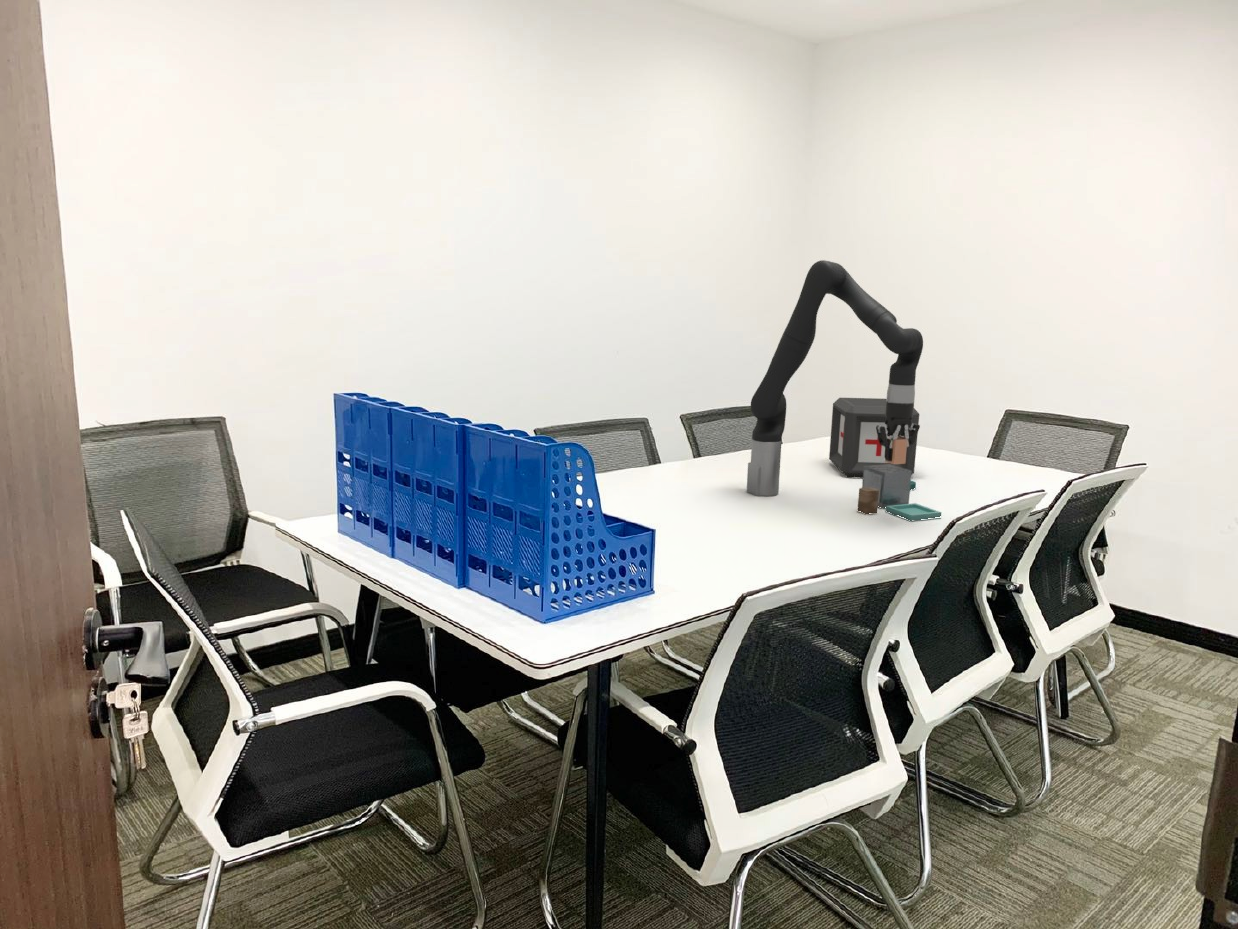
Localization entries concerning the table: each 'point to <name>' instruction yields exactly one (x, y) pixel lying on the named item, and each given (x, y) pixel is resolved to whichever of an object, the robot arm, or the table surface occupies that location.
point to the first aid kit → (862, 436)
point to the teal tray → (913, 511)
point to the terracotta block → (899, 451)
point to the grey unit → (888, 483)
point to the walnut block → (868, 500)
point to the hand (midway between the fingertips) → (895, 459)
